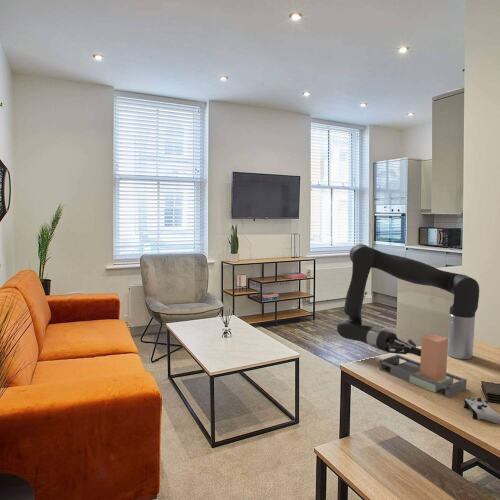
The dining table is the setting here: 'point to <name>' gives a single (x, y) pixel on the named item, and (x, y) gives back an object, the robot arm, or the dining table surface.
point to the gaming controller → (481, 410)
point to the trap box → (412, 374)
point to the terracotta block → (433, 357)
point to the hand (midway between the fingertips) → (422, 353)
